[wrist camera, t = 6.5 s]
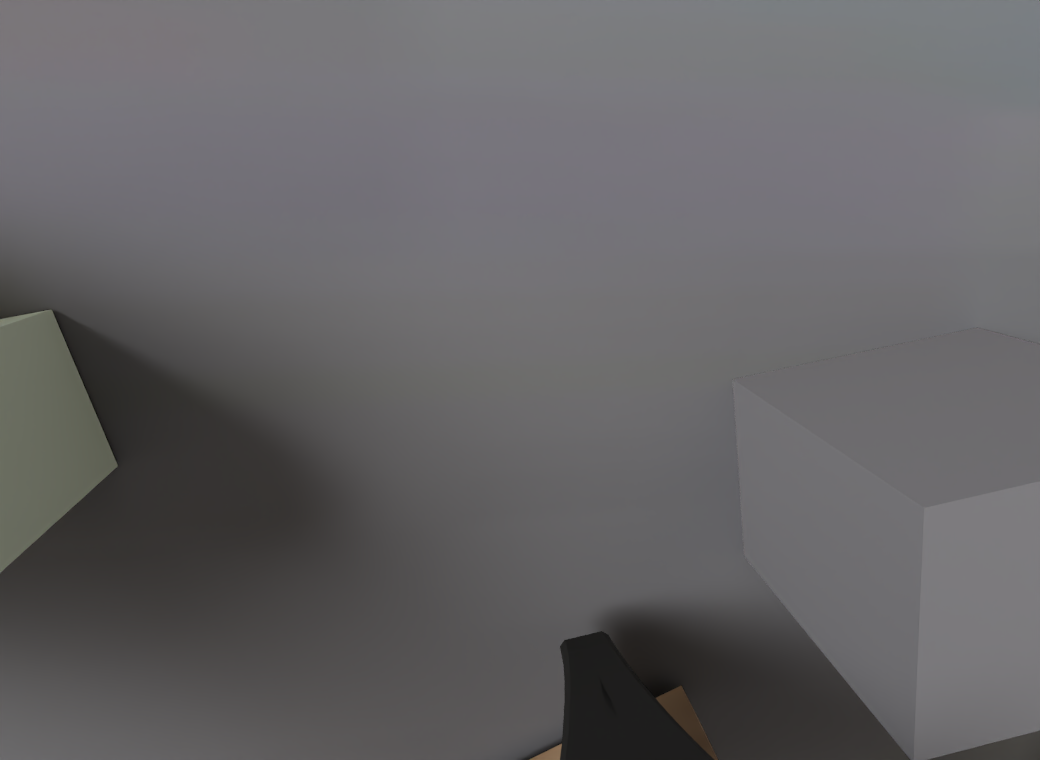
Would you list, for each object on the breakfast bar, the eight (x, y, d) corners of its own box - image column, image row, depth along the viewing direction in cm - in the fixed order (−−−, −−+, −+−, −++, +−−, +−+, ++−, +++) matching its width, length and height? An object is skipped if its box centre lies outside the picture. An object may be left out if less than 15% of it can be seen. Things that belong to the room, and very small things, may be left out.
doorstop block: (963, 503, 14) (1244, 676, 9) (742, 554, 13) (913, 763, 9) (975, 326, 12) (1311, 418, 8) (730, 377, 12) (924, 507, 7)
